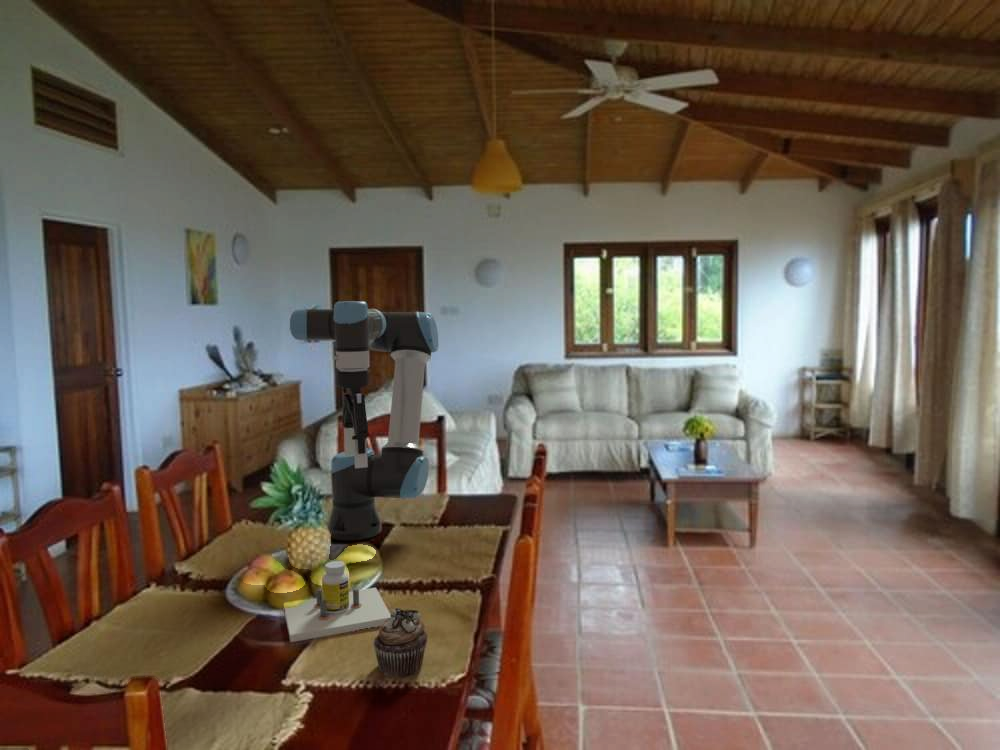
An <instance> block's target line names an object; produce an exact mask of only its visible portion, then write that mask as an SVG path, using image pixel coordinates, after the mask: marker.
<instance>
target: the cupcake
mask: <svg viewBox="0 0 1000 750" xmlns="http://www.w3.org/2000/svg"><path fill="white" fill-rule="evenodd" d="M390 614H391V618H389V619H388V620H386V621H385V622H384V624H383V625H382V626H380V627H379V630H378V634H377V636H376V637H374V641H373V644H372V645H373V649H374V652H375V656H376V660H377V664H378V665H377V666H378V669H379V672H380V673H381V674H382V675H384V676H386V677H389V678H397V679H398V678H408V677H410V676H413V675H415V674H417V673H418V672H419V671H421V670H422V666H423V660H424V656H425V650H426V648H427V644H428V634H427V633H426V631H425V624H424V622H423V621H422V620H421V614H420V613H419V611H418V610H416V609H405V610H404V609H401V608H398V607H397V608H395V609H392V610H391V612H390Z"/></svg>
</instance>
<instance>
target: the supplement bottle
mask: <svg viewBox="0 0 1000 750" xmlns="http://www.w3.org/2000/svg"><path fill="white" fill-rule="evenodd" d="M324 569H325V573H324V574H323V576H322V578H321V589H322V599H323V600H325V601H326V612H327V613H328V614H340V613H343V612H345V611H347V610H348V608H349V592H350V587H349V581H350V580H349V574H348V573H347V572H345V571H346V564H345V561H342V560H332V561H329V562H327V563H325V565H324Z"/></svg>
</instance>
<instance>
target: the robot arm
mask: <svg viewBox="0 0 1000 750" xmlns="http://www.w3.org/2000/svg"><path fill="white" fill-rule="evenodd" d="M289 330H290V334H291V336H292V338H294V340H297V341H305V342H306V341H319V342H334V346H335V347H334V349H335V350H334V351H335V355H332V359H333V360H335V368H336V369H337V371H336V372H335V381H336V386H337V387H338V388H340V389H341V388H342V391H343V393H342V394H343V397H342V416H341V422H342V424H343V425H342V426H343V441H344V442H343V443H344V445H343V446H344V451H342V452H339V453H337V454H336V455H334V456H333V457H332V459H331V466H330V467H331V469H330V474H331V475H330V477H331V480H330V481H331V495H332V496H331V497H332V499H331V500H332V508H331V511H330V515H329V518H328V521H327V526H328V529H329V531H330V533H331V537H332V538H331V537H330V538H331V539H333V540H337V541H338V540H339V541H361V540H366V539H370V538H373V537H375V536H378V535H379V534H381V533H382V530H383V529H382V528H383V527H382V520H381V517H380V514H379V512H378V508H377V507H376V504H375V502H376V501H375V500H376V499H375V498H384V499H385V498H389V499H402V500H405V499H416V498H418V497H420V496H421V495H422V494H423V492H424V490H425V489H426V485H427V482H428V477H429V472H430V471H429V469H430V468H429V465H430V464H429V459H428V458H427V456H425V455H424V449H422V447H421V446H420V444H419V441H420V429H421V420H422V403H423V393H424V392H423V391H424V382H425V381H424V379H425V367H426V364H427V363H428V362H430V360H431V359H432V353H435V352H437V351H438V348H439V333H438V326H437V322H436V320H435V318H434V316H433V314H431V313H430V312H426V311H424V312H423V311H421V312H420V311H407V312H406V311H403V312H402V311H394V312H393V311H391V312H390V311H389V312H387V311H380V310H378V309H375V308H372V307H371V308H368V303H367V302H366V301H364V300H363V301H361V300H360V301H358V300H356V301H355V300H353V301H352V300H349V301H337V302H335V304H334V305H333V308H331V309H330V308H328V309H327V308H326V309H325V308H324V309H323V308H321V309H317V308H316V309H315V308H313V309H309V308H305V309H295V310H294V311H293V312H292V313H291V315H290V319H289ZM370 350H373V351H377V352H385V353H386V352H390V357H391V358H392V359H393V360H394V362H395V363H394V364H395V365H394V373H393V384H392V392H391V393H392V396H391V403H390V404H391V405H390V418H389V426H388V437H387V443H386V444H385V445H383V446H382V447H381V452H380V453H381V454H376V455H375V452H374V450H373V448H368V438H369V436H370V433H369V427H368V420H367V419H368V418H367V417H368V416H367V409H366V399H365V398H366V395H365V393H362V391H361V390H362V388H366V387H369V386H370V385H371V380H370V379H371V377H370V376H371V375H370V371H369V369H368V368H370V366H371V365H370Z"/></svg>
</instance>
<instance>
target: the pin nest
mask: <svg viewBox="0 0 1000 750" xmlns="http://www.w3.org/2000/svg"><path fill="white" fill-rule="evenodd" d="M315 593H316V595H315V597H317V599H310V600H308V601H307V602H305V603H303V604H300V605H298V606H296V607H291V608H285V613H284V616H285V617H284V618H285V622H286V628H287V632H288V636H289V642H290V643H295V642H299V641H300V642H301V641H306V640H311V639H317V638H324V637H328V636H334V635H339V634H345V633H351V632H356V631H355V630H357V631H360V630H359V629H363V628H368V629H372V628H371V627H374V628H378V626H379V627H381V626H382V625H383V624H384V622H385V621H386V620H388V619H389V618H391V612H390V611H389V609H388V607H387V606H386V604H385V602H384V600H383V598H382V596H381V594H380V593H379V591H378V589H377V587H371V588H365V589H359V588H355V589H353V590H351V591H349V608H348V610H347V611H345V612H343V613H340V614H328V613H327V612H326V601H325V600H323V599H322V588H318V589H316V590H315ZM363 630H364V629H363ZM350 631H351V632H350Z"/></svg>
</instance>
